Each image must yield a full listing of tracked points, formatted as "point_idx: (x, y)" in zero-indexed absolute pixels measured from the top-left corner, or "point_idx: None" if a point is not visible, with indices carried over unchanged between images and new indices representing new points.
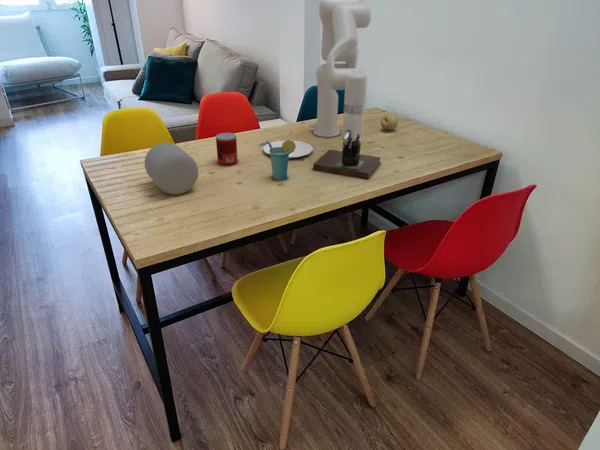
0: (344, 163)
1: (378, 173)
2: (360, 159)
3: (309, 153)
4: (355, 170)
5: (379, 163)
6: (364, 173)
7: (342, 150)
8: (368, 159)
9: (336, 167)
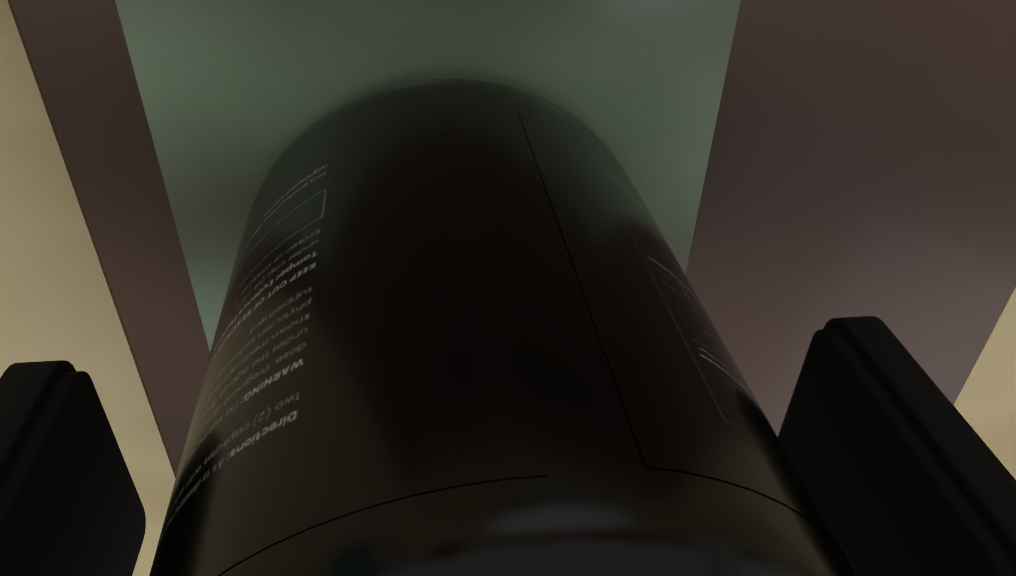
0: (248, 216)
1: None
2: (752, 325)
3: None
4: (181, 415)
5: None
6: None
7: (305, 308)
8: (779, 419)
9: (45, 48)
